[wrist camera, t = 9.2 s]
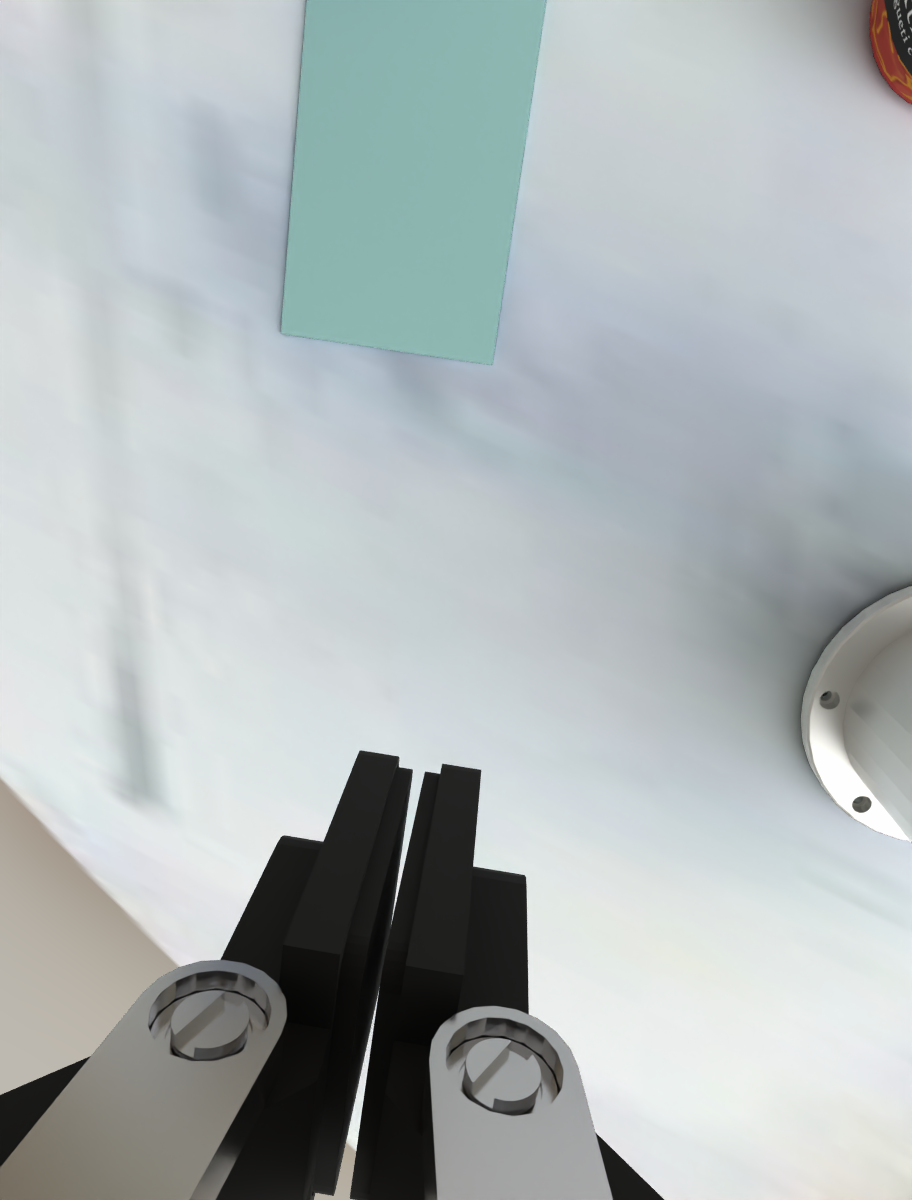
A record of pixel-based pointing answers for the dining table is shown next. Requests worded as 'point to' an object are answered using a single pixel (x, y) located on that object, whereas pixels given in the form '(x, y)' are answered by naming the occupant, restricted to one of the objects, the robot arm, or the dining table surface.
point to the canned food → (893, 43)
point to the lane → (408, 171)
